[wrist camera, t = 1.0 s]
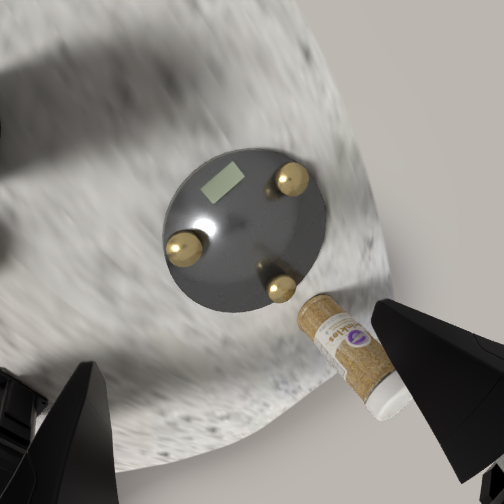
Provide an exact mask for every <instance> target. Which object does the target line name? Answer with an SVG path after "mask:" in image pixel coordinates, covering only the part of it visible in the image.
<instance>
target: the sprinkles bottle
mask: <svg viewBox="0 0 504 504" xmlns="http://www.w3.org/2000/svg"><path fill="white" fill-rule="evenodd" d="M297 323H298V325H299V328H300V329H301V330H302V331H303V332H305V333H306V334H307V335H308V337H309V338H310V339H311V340H312V341H313V342H314V344H315V346H316V347H317V348H318V349H319V351H320V352H321V353H322V354H323V355H324V356H325V358H326V359H327V360H328V361H329V362H330V363H331V365H332V366H333V367H334V368H335V369H336V370H337V372H338V373H339V374H340V375H341V376H342V377H343V379H344V380H345V381H346V382H347V383H349V385H350V386H351V387H352V388H353V389H354V391H355V392H356V393H357V394H358V395H359V396H360V397H361V398H362V400H363V401H364V403H365V404H366V408H367V409H368V410H369V411H370V413H371V414H372V415H373V416H374V417H375V418H376V419H377V420H379V421H385V420H387V419H389V418H391V417H393V416H394V415H396V414H397V413H398V412H400V411H401V410H402V409H403V408H404V407H405V406H406V405H407V404H408V403H409V402H410V401H411V400H412V399H413V397H412V396H411V394H410V392H409V391H408V389H407V387H406V386H405V384H404V382H403V381H402V379H401V378H400V376H399V374H398V373H397V371H396V370H395V368H394V366H393V365H392V363H391V362H390V360H389V358H388V356H387V354H386V352H385V350H384V348H383V346H382V345H381V344H380V343H378V342H377V341H376V340H375V339H374V338H373V337H372V336H371V335H370V333H369V332H368V331H367V330H366V329H365V328H364V327H363V326H361V325H360V324H359V323H358V322H357V321H356V320H355V319H354V318H353V317H352V316H351V315H349V314H348V313H346V312H345V311H344V310H343V309H342V308H341V307H340V306H339V305H338V304H337V303H336V302H335V301H334V300H333V298H332V297H330V296H328V295H318V296H316V297H314V298H312V299H310V300H309V301H308V302H306V304H305V305H304V306H303V307H302V309H301V310H300V312H299V315H298V322H297Z"/></svg>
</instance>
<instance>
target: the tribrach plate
mask: <svg viewBox="0 0 504 504" xmlns="http://www.w3.org/2000/svg"><path fill="white" fill-rule="evenodd" d="M325 224H326V216H325V207H324V202H323V198H322V195H321V193H320V190H319V188H318V186H317V184H316V182H315V181H314V179H313V178H312V177H311V175H310V174H309V173H308V172H307V170H306V168H305V167H304V166H302V165H300V164H298V163H297V162H295V161H294V160H292V159H290V158H288V157H286V156H284V155H281V154H278V153H275V152H271V151H266V150H261V149H241V150H235V151H230V152H227V153H224V154H221V155H219V156H216V157H214V158H212V159H210V160H209V161H207V162H205V163H203V164H202V165H201V166H199V167H198V168H197V169H196V170H194V171H193V172H192V173H191V174H190V175H189V176H188V177H187V178H186V179H185V180H184V181H183V183H182V184H181V185H180V187H179V188H178V189H177V191H176V193H175V195H174V196H173V198H172V200H171V202H170V204H169V207H168V209H167V212H166V216H165V220H164V224H163V235H162V237H163V249H164V255H165V259H166V262H167V265H168V268H169V271H170V273H171V275H172V277H173V279H174V281H175V283H176V284H177V285H178V286H179V288H180V289H181V290H182V291H183V292H184V293H185V294H186V295H187V296H188V297H189V298H191V299H192V300H193V301H195V302H196V303H198V304H200V305H202V306H204V307H206V308H209V309H212V310H216V311H221V312H230V313H236V312H246V311H252V310H256V309H259V308H262V307H265V306H267V305H270V304H272V303H273V302H275V303H283V302H286V301H288V300H289V299H290V298H291V297H292V296H293V295H294V293H295V290H296V286H297V285H298V284H299V283H300V282H301V281H302V280H303V278H304V277H305V276H306V275H307V273H308V272H309V270H310V269H311V267H312V266H313V264H314V262H315V260H316V258H317V256H318V254H319V251H320V249H321V246H322V242H323V239H324V233H325Z"/></svg>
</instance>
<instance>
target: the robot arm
mask: <svg viewBox="0 0 504 504" xmlns="http://www.w3.org/2000/svg"><path fill="white" fill-rule="evenodd" d="M371 325H372V327H373V329H374V331H375V333H376V335H377V337H378V339H379V341H380V342H381V344H382V346H383V348H384V350H385V352H386V354H387V356H388V358H389V360H390V362H391V363H392V365H393V366H394V368H395V370H396V371H397V373H398V374H399V376H400V378H401V379H402V381H403V382H404V384H405V386H406V387H407V389H408V391H409V392H410V394H411V396H412V397H413V399H414V401H415V402H416V404H417V406H418V407H419V409H420V410H421V412H422V414H423V416H424V417H425V419H426V421H427V422H428V424H429V426H430V428H431V429H432V431H433V433H434V435H435V436H436V438H437V440H438V442H439V444H441V445H440V446H441V447H442V449H443V451H444V453H445V455H446V456H447V459H448V460H449V462H450V464H451V466H452V468H453V470H454V471H455V473H456V475H457V477H458V479H459V481H460V482H461V484H463V483H464V482H466V481H467V480H469V479H471V478H472V477H473V476H475V475H476V474H478V473H479V472H481V471H482V470H484V469H485V468H486V467H488V466H489V465H490V464H492V463H493V462H494V461H495V462H494V463H493V465H492V466H491V467H490V468H489V469H488V470H487V471H486V472H485V473H484V474H483V477H482V486H481V494H480V500H479V501H480V502H481V503H482V504H504V345H503V344H500V343H497V342H494V341H491V340H489V339H486V338H484V337H481V336H479V335H476V334H474V333H473V334H472V333H471V332H469V331H467V330H464V329H462V328H459V327H457V326H454V325H452V324H449V323H447V322H445V321H442V320H439V319H437V318H435V317H432V316H430V315H427V314H425V313H422V312H420V311H418V310H415V309H413V308H410V307H407V306H405V305H403V304H400V303H398V302H395V301H393V300H390V299H382V300H379V301H377V303H376V304H375V307H374V311H373V314H372V317H371ZM47 406H48V400H47V399H46V398H45V397H43V396H41V395H39V394H38V393H36V392H34V391H33V390H31V389H29V388H28V387H26V386H25V385H23V384H21V383H20V382H18V381H17V380H15V379H14V378H12V377H11V376H9V375H8V374H6V373H5V372H3V371H2V370H0V504H119V501H118V494H117V486H116V478H115V468H114V456H113V441H112V428H111V421H110V415H109V407H108V400H107V391H106V383H105V380H104V377H103V376H102V374H101V372H100V370H99V368H98V366H97V364H96V363H95V362H94V361H82V362H81V363H80V364H79V365H78V367H77V368H76V370H75V371H74V373H73V374H72V376H71V377H70V379H69V380H68V382H67V383H66V385H65V387H64V388H63V390H62V391H61V393H60V395H59V396H58V398H57V399H56V401H55V403H54V404H53V406H52V408H51V409H50V411H49V413H48V414H47V416H46V418H45V419H44V421H43V423H42V424H41V426H40V428H39V430H38V431H37V433H36V435H35V425H36V417H37V416H38V415H39V414H40V413H41V412H42V411H43V410H44V409H45V408H46V407H47Z"/></svg>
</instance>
